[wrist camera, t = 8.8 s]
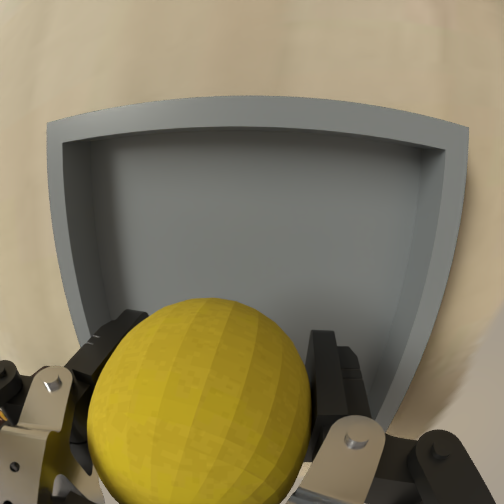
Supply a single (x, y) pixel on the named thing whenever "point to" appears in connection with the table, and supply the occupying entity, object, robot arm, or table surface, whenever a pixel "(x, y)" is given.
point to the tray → (264, 219)
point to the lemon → (201, 409)
